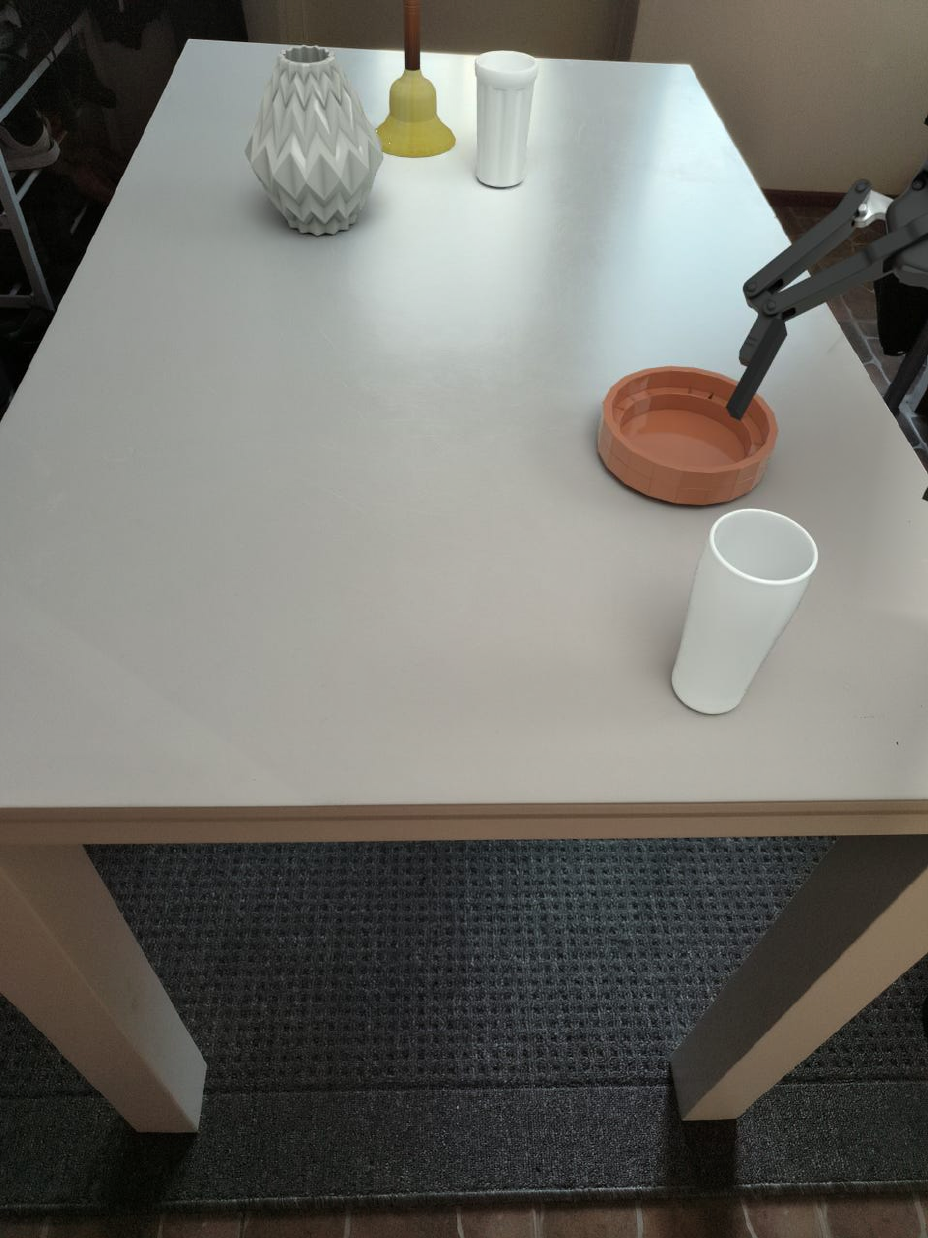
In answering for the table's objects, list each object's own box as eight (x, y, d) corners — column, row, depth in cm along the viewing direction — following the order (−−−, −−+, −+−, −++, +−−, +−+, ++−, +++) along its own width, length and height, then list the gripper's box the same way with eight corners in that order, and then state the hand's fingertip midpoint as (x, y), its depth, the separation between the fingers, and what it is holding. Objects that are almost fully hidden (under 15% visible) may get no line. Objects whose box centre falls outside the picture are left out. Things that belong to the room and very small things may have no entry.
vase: (228, 225, 110) (199, 56, 96) (317, 180, 119) (302, 20, 105) (327, 266, 104) (312, 93, 90) (413, 216, 113) (411, 51, 99)
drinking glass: (732, 741, 63) (800, 601, 51) (645, 699, 65) (691, 555, 54) (764, 677, 67) (834, 532, 55) (680, 639, 69) (731, 492, 57)
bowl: (775, 429, 87) (790, 390, 83) (747, 531, 77) (761, 491, 74) (621, 389, 90) (628, 350, 87) (575, 482, 80) (582, 443, 77)
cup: (506, 198, 117) (514, 78, 106) (458, 180, 120) (461, 61, 109) (541, 178, 121) (552, 60, 111) (493, 161, 124) (499, 45, 114)
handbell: (353, 135, 129) (340, -80, 110) (420, 115, 134) (418, -93, 115) (405, 164, 123) (401, -57, 104) (473, 143, 128) (481, -72, 109)
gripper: (1204, 232, 54) (1011, 544, 57) (815, 122, 63) (670, 396, 67) (1254, 170, 47) (1032, 529, 50) (810, 57, 56) (649, 367, 60)
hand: (826, 454), depth 59 cm, fingers open, 13 cm apart
